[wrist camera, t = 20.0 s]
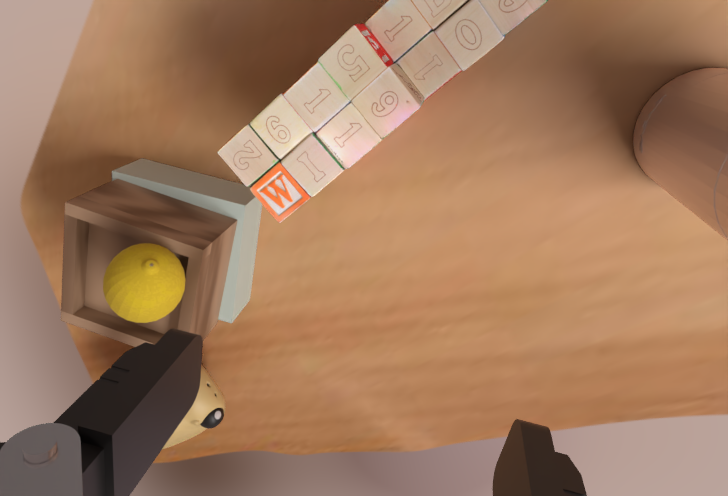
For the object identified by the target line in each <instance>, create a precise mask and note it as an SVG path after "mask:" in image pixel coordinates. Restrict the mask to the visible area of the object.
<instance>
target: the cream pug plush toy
mask: <svg viewBox="0 0 728 496" xmlns="http://www.w3.org/2000/svg"><path fill="white" fill-rule="evenodd" d="M224 413H225V398H224V396H223V394H222V392H221V391H220V389H219V388H218V386H217V385H216V383H215V382H214V380H213V379H212V377H211V376H210V374H209V373H208V372H207V370H206V369H205V368H204V366H203V365H202V364H201V378H200V387H199V391H198V394H197V397H196V399H195V401H194V403H193V405H192V407H191V408H190V410H189V411H188V413H187V414H186V416H185V417H184V418H183V420H182V421H181V423H180V424H179V426H178V427H177V428H176V430H175V431H174V433H173V434H172V436H171V437H170V438H169V440H168V441H167V443H166V444H165V446H164V447H163V448H162V449H165V448H168V447H171V446H173V445H176V444H178V443H181V442H183V441H186V440H188V439H190V438H192V437H194V436H196V435H198V434H200V433H201V432H203V431H204V430H205V429H206V428H213V427H215V426H217V425H218V424H219V423H220V422H221V421H222V419H223V417H224Z"/></svg>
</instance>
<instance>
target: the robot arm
mask: <svg viewBox="0 0 728 496" xmlns="http://www.w3.org/2000/svg"><path fill="white" fill-rule="evenodd" d="M633 147H634V153H635V157H636V159H637V161H638V163H639V166H640V167H641V168H642V170H643V171H644V172H645V173H646V175H647V176H649V177H650V178H651V179H652V180H654V181H655V182H656V183H657V184H659V185H660V186H661V187H662V188H663V189H665V190H666V191H667V192H668V193H669V194H670V195H672V196H673V197H674V198H675V199H677V200H678V201H679V202H680V203H682V204H683V205H684V206H685V207H687V208H688V209H689V210H690V211H692V212H693V213H694V214H695V215H697V216H698V217H699V218H700V219H702V220H703V221H704V222H705V223H707V224H708V225H709V226H710V227H712V228H713V229H714V230H715V231H717V232H718V233H719V234H720V235H722V236H723V237H724V238H725V239H727V240H728V69H726V68H703V69H698V70H693V71H690V72H688V73H685V74H683V75H680V76H678V77H676V78H674V79H673V80H671V81H670V82H668V83H666V84H665V85H663V86H662V87H661V88H660V89H659V90H658V91H657V92H656V93H654V94H653V95H652V97H651V98H650V99H649V100H648V102H647V103H646V104H645V106H644V107H643V109H642V111H641V113H640V115H639V117H638V119H637V122H636V125H635V129H634V136H633ZM202 345H203V340H202V337H201V335H198V334H194V333H190V332H186V331H182V330H178V329H175V328H172V329H170V330H168V331H167V332H166V333H165V334H164V336H163V337H162V338H161V339H160V340H159V341H158V342H157V343H156V344H155V345H154V344H151V343H147V342H145V343H143V344H141V345H139V346H137V347H135V348H133V349H131V350H129V351H127V352H125V353H124V354H123V355H122V356H121V357H120V358H119V359H118V360H117V361H116V362H115V363H114V364H113V365H112V367H111V369H110V368H109V369H108V370H107V371H106V372H105V373H104V374H103V375H102V376H101V377H100V379H99V380H97V381H96V382H95V383H94V384H93V385H92V386H91V387H89V388H88V390H87V391H86V392H84V393H83V394H82V395H81V397H79V398H78V399H77V400H76V402H74V403H73V404H72V405H71V406H70V407H69V408H68V409H67V410H66V411H65V412H64V413H63V414H62V415H61V416H60V417H59V418H58V419H57V420H56V421H55V422H54V423H46V424H40V425H36V426H32V427H29V428H27V429H25V430H23V431H21V432H19V433H17V434H15V435H14V436H13V437H11V438H10V439H9V440H8V441H7V442H4V443H0V496H129V495H130V494H131V492H132V491H133V490H134V488H135V487H136V485H137V484H138V482H139V481H140V480H141V478H142V477H143V475H144V474H145V473H146V471H147V470H148V468H149V467H150V465H151V464H152V463H153V461H154V460H155V458H156V457H157V456H158V454H159V453H160V451H161V450H162V448H163V447H164V446H165V444H166V443H167V441H168V440H169V438H170V437H171V436H172V434H173V433H174V431H175V430H176V428H177V427H178V426H179V424H180V423H181V421H182V420H183V418H184V417H185V416H186V414H187V413H188V411H189V410H190V408H191V407H192V405H193V403H194V401H195V399H196V397H197V394H198V391H199V387H200V378H201V361H202ZM493 496H587V495H586V491H585V487H584V484H583V480H582V477H581V474H580V473H579V471H578V470H577V468H576V467H575V465H574V464H573V462H572V461H571V460H570V458H569V457H568V455H565V454H562V453H558V452H555V450H554V446H553V441H552V437H551V433H550V430H549V428H548V427H546V426H542V425H538V424H534V423H530V422H526V421H523V420H519V419H516V420H515V421H514V423H513V425H512V427H511V430H510V432H509V434H508V437H507V439H506V442H505V445H504V447H503V449H502V452H501V454H500V457H499V459H498V462H497V464H496V468H495V472H494V479H493Z"/></svg>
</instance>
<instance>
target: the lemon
mask: <svg viewBox="0 0 728 496" xmlns="http://www.w3.org/2000/svg"><path fill="white" fill-rule="evenodd" d="M184 290H185V273H184V269H183V267H182V265H181V262H180V260H179V259H178V258H177V257H176V256H175V254H174V253H172V252H171V251H170V250H168V249H167V248H165V247H162V246H160V245H156V244H151V243H141V244H137V245H133V246H130V247H128V248H126V249H124V250H122V251H121V252H120V253H119V254H118V255H116V256H115V257H114V258H113V259H112V261H111V262H110V264H109V265H108V267H107V269H106V272H105V275H104V278H103V292H104V296H105V299H106V301H107V303H108V305H109V306H110V308H111V309H112V310H113V311H114V312H115V313H116V314H117V315H118V316H120V317H122V318H124V319H126V320H128V321H132V322H136V323H148V322H153V321H157V320H159V319H161V318H163V317H165V316H166V315H168V314H169V313H170V312H172V311H173V310H174V309H175V307H176V306H177V305H178V303H179V302H180V301H181V298H182V296H183V293H184Z"/></svg>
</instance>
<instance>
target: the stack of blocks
mask: <svg viewBox="0 0 728 496" xmlns="http://www.w3.org/2000/svg"><path fill="white" fill-rule="evenodd" d="M547 1H548V0H388V1H387V2H386V3H385V4H384V5H383V6H382V7H381V8H380V9H379V10H378V11H377V12H375V13H374V14H373V15H372V16H371V17H370V18H369V19H368V20H367V21H366V23H365V25H364V24H362V23H361V24H354V25H353V26H352V27H351V28H350V29H349V30H348V31H347V32H346V33H345V34H344V35H343V36H341V37H340V38H339V39H338V40H337V41H336V42H335V43H334V44H333V45H332V46H331V47H330V48H329V49H328V50H327V51H326V52H325V53H324V54H323V55H322V56H321V57H320V58H319V59H318V61H317V63H316V64H315V65H313V66H312V67H311V68H310V69H309V70H308V71H307V72H306V73H305V74H304V75H303V76H302V77H301V78H300V79H299V80H298V81H296V82H295V83H294V84H293V85H292V86H291V87H290V88H289V89H288V90H287V91H286V92H283V93H281V94H280V95H279V96H277V97H276V98H275V99H274V100H273V101H272V102H271V103H270V104H269V105H268V106H267V107H266V108H265V109H264V110H263V111H262V112H260V113H259V114H258V115H257V116H256V117H255V118H254V119H253V120H252V121H251V122H250V123H249V124H247V125H246V126H244V127H243V128H242V129H241V130H240V131H239V132H238V133H237V134H236V135H235V136H234V137H232V138H231V139H230V140H229V141H228V142H227V143H226V144H225V145H224V146H223V147H221V148H220V149H219V151H218V154H219V156H220V157H221V158H222V159H223V160H224V161H225V162H226V163H227V165H228V166H229V167H230V168H231V169H232V170H233V172H234V173H235V174H236V175H237V176H238V177H239V179H240V180H241V181H242V182H243V183H244V185H245V186H246V187H250V190H251V192H252V193H253V194H254V196H255V197H256V198H257V199H258V200H259V201H260V202H261V203H262V205H263V206H264V207H265V208H266V209H267V210H268V211H269V212H270V213H271V215H272V216H273V217H274V218H275V219H276V220H277V221H278V222H279V223H280V222H282V221H283V220H284V219H285V218H287V217H288V216H289V215H290V214H292V213H293V212H294V211H295V210H296V209H298V208H299V207H300V206H301V205H303V204H304V203H305V202H306V201H308V200H309V199H310V198H311V197H313V196H315V195H316V194H317V193H318V192H319V191H321V190H322V189H323V188H324V187H325V186H326V185H328V184H329V183H330V182H331V181H332V180H334V179H335V178H336V177H337V176H338V175H339V174H341V173H342V172H343V171H344V170H345V169H348V168H350V167H351V166H352V165H354V164H355V163H356V162H357V161H358V160H359V159H361V158H362V157H363V156H364V155H366V154H367V153H368V152H369V151H370V150H371V149H373V148H374V147H375V146H376V145H377V144H378V143H379V142H380V141H381V140H382V139H383V138H385V137H386V136H387V135H389V134H390V133H391V132H392V131H393V130H394V129H396V128H397V127H398V126H399V125H400V124H402V123H403V122H404V121H405V120H406V119H408V118H409V117H410V116H411V115H412V114H413V113H415V112H416V111H417V110H418V109H419V108H420V107H421V105H422V104H423V102H424V101H425V100H426V99H427V98H428V97H430V96H431V95H432V94H433V93H435V92H436V91H437V90H438V89H440V88H441V87H442V86H443V85H445V84H446V83H447V82H448V81H450V80H451V79H452V78H453V77H455V76H456V75H457V74H458V73H460V72H461V71H465V70H466V69H467V68H469V67H470V66H471V65H472V64H474V63H475V62H476V61H478V60H479V59H480V58H481V57H483V56H484V55H485V54H486V53H488V52H489V51H490V50H491V49H492V48H494V47H495V46H496V45H497V44H499V43H500V42H501V41H502V40H503V39H504V38H505V35H506V34H507V33H509V32H510V31H511V30H512V29H514V28H515V27H516V26H517V25H519V24H520V23H521V22H522V21H524V20H525V19H526V18H527V17H528V16H530V15H531V14H532V13H533V12H535V11H536V10H537V9H538V8H540V7H541V6H542V5H543V4H545V3H546V2H547Z"/></svg>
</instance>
